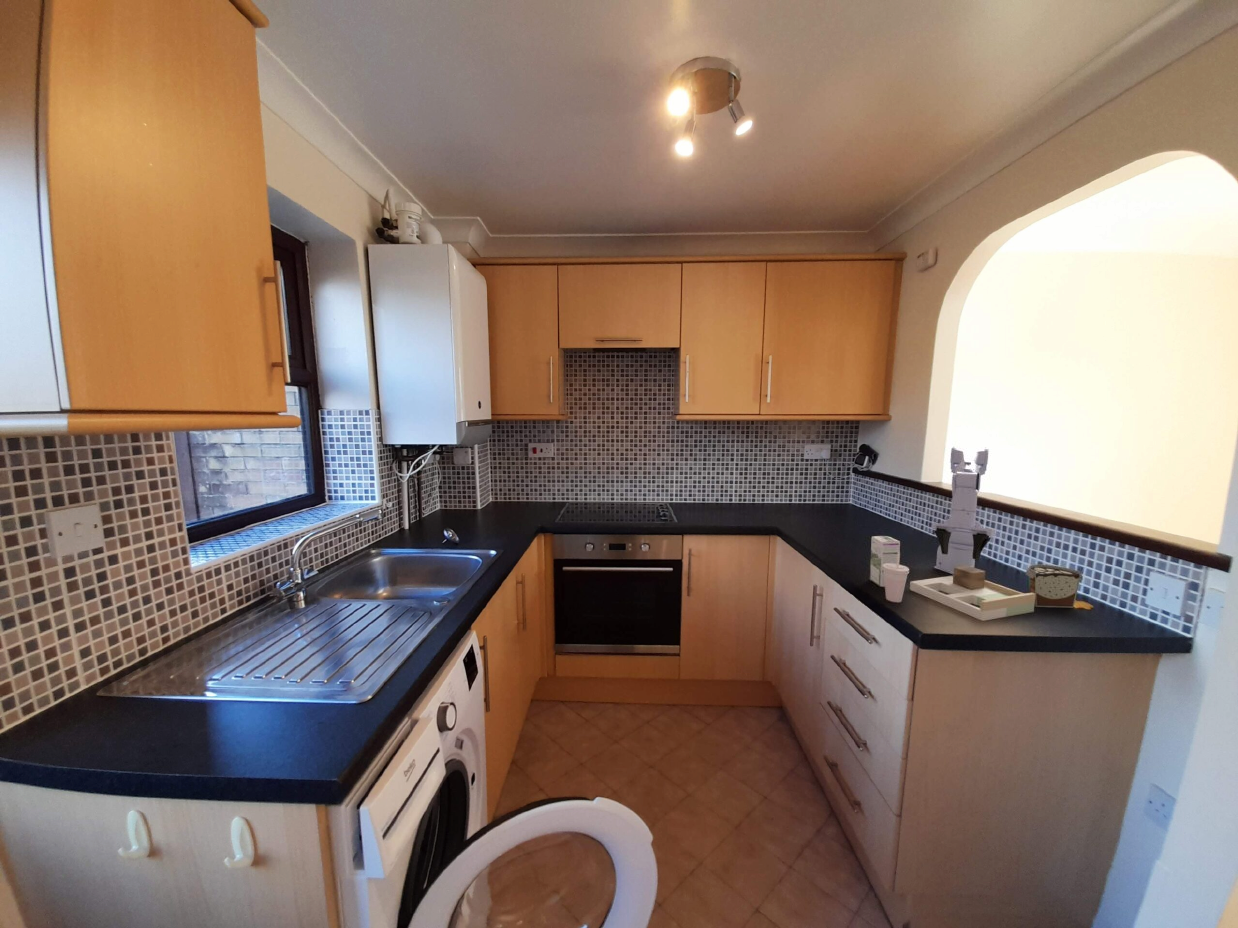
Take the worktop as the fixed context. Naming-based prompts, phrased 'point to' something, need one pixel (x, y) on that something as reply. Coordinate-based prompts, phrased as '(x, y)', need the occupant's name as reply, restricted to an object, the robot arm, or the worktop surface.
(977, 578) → the walnut block
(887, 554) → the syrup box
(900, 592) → the smoothie
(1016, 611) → the trap deck
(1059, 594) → the food container
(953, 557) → the robot arm
